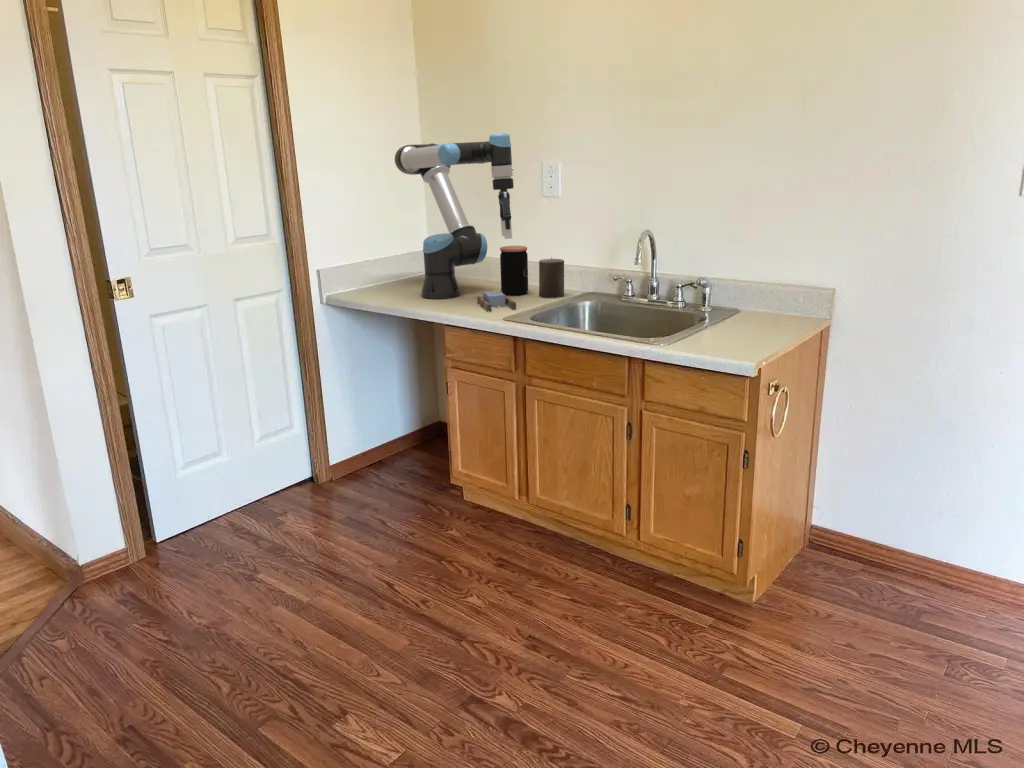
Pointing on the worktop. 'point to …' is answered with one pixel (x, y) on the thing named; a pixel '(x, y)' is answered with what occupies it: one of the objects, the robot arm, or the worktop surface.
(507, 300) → the walnut channel
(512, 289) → the coffee jar
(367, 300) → the worktop surface
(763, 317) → the worktop surface
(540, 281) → the pillar candle
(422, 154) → the robot arm
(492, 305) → the slate block
